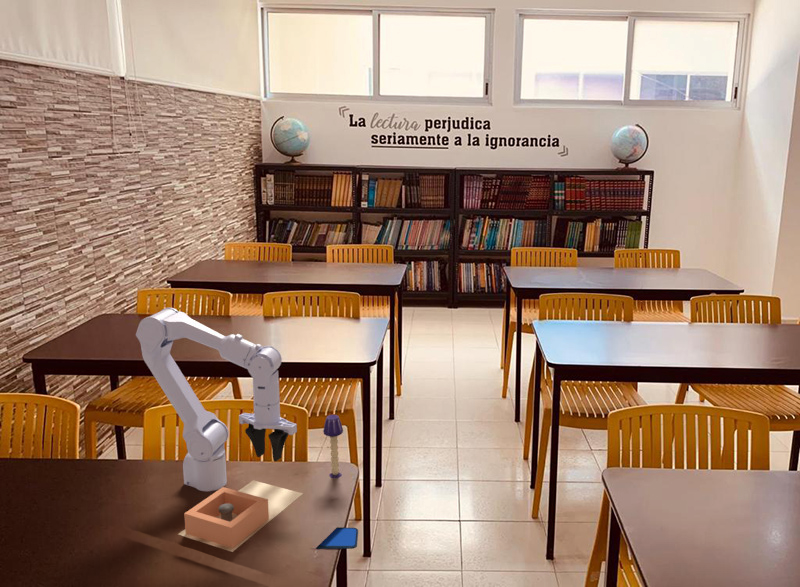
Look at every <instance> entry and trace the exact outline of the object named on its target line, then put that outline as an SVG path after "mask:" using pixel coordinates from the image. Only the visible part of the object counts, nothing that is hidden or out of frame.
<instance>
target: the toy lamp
mask: <svg viewBox="0 0 800 587" xmlns="http://www.w3.org/2000/svg"><path fill="white" fill-rule="evenodd" d="M342 425H343V424H342V421H341V419H340V417H339V415H337V414H330V415H327V416H326V418H325V422H324V427H323V430H322V431H323V432H322V433H323V435H325V436H327V437H329V438H330V440H329V443H330V462H331V464H330V466H331V473H329V476H328V477H329V478H332V479H339V478H340V477H342V475H343V474H342V472H340V471H339V467H340V466H339V457H338V456H339V450H338V449H339V446H338V443H339V442H338V441H339V440H338V436H341V435H342V434H343V433H344V429H343V426H342Z"/></svg>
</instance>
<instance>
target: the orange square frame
mask: <svg viewBox="0 0 800 587" xmlns="http://www.w3.org/2000/svg"><path fill="white" fill-rule="evenodd" d="M227 503H228V504H232V505H233V506H234V510H233V511H232V513H234V514H238V516H237V517H236V518H235V519H233V520H232V521H231V522H229V521H226V520H222V519H219V518H216V517H217V516H219V515H220V514H221V513H220V512H219V506H221V505H222V504H227ZM183 515H184V528H185V531H186V534H189V535H193V536H196V537H199V538H202V539H205V540H208V541H211V542H214V543H218V544H221V545H224V546H227V547H230V548H233V547H235V546H236V545H237V544H238V543H240V542H241V541H242V540H243V539H244V538H246V537H247V536H248V535H249V534H251V533H252V532H253V531H254V530H255V529H257V528H258V527H259V526H260V525H262V524H263V523H264V522H265V521H266V520H268V519H269V511H268V499H265V498H261V497H258V496H254V495H250V494H247V493H243V492H239V490H235V489H232V488H228V487H225V486H224V487H222V488H220V489H218V490H215V492H214V493H212V494H210V495H209V496H208V497H207V498H205V499H203V500H202V501H200V502H199V503H197V504H196V505H194V506H193V507H192V508H190V509H189V510H188V511H185V512H184V514H183Z"/></svg>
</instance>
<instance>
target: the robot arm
mask: <svg viewBox="0 0 800 587" xmlns="http://www.w3.org/2000/svg"><path fill="white" fill-rule="evenodd" d="M137 326H138V327H137V329H136V333H135V337H136V338H137V340H138V341H139V343H140V349H141V355H142V359H143V361H144V363H145V364H146V366H147V367H148V369H149V370H150V372H151V374H152V375H153V377H154V379H155V380H156V381H157V383H158V385H159V387H161V388H160V389H162V391H163V393H164V394H165V396H166V398H167V400H168V401H169V402H170V405H172V408H174V410H175V412H176V414H177V415H178V417H179V418H180V420H181V421H182V423H183V429H182V430H183V431H182V438H183V440H184V441H185V443H186V450H187V453H186V455H185V457H184V459H183V462H182V469H183V470H182V472H183V484H184V485H186V486H190V487H192V488H195V489H196V490H198V491H201V492H213V491H218V490H219V489H221V488H222V487H225V486H226V485H227V483H228V480H227V464H226V463H227V462H226V449H225V443H226V442H227V440H228V439H229V436H230V435H229V429H228V427H227V425H226V424H225V423H224V422H223V421H221V420H220V419H219V418H218V417H217V416H216V414H215V413H213V412H211V411H208V410H206V408H204V406H203V405H202V403H201V401H200V400H199V398H198V396H197V395H196V393H195V392H194V390H193V388H192V386H191V385H190V384H189V382H188V380H187V379H186V377H185V375H184V374H183V373H182V371H181V369H180V367H179V366H178V364H177V363H176V361H175V360H174V357H173V356H172V355H171V350H172V346H173V344H174V341H176V340H180V339H183V338H185V339H188V340H190V341H194V342H196V343H199V344H202V345H204V346H206V347H209V348H211V349H214V350H217V351H218V353H219V355H220V358H222V359H224V360H226V361H228V362H230V363H232V364H235V365H237V366H239V367H242V368H244V369H246V370H247V372H248V373H249V375H250V376H251V378H252V392H253V394H252V395H253V397H252V398H253V413H248V412H243V413H241V414H239V415H238V423H239V424H240V425H244V424H246V425H247V424H248V427H246V429H245V430H244V432H245V434H246V435H247V436H248V438H249V440H250V442H251V444H252V446H253V449H254V451H255V455H256V457H257V458H260V457H262V456H263V455H265V452H266V432H267V430H268V429H269V430H273V431H272V432H270V433H269V434H268V439H269V442H270V445H271V451H272V454H271V455H272V460H273V462H278V461H279V460H280V459H281V458H282V454H283V450H284V447H285V443H286V440H287V438H288V436H289V435H290V436H293V435H295V434H296V433H297V431H298V428H297V426H298V425H297V423H294V422H292V421H290V420H287V419H285V418H283V417H281V407H280V406H281V405H280V404H281V403H280V381H279V370H278V369H279V368H280V366H281V365H282V361H283V360H282V356H281V352H279V350H278V349H277V348H275V347H274V346H272V345H265V346H263V345H262V344H260V343H257V344H255V343H254V342H251V341H249V340H247V339H245V338H243V335H241V334H239V333H237V334H234V333H232V334H229V335H223V334H221V333H219V332H218V331H216V330H214V329H212V328H210V327H208V326H206V325H205V324H203V323H200V322H199V321H197V320H194V319H192V318H191V317H190V316H189V315H188V314H187V313H186V312H183V311H178V310H177V308H174V307H165V308H163V309H161V310H160V311H159V312H155V313H154V314H151V315H150V316H147V317H145V318H142V319H141V320H140V322H139V324H138V325H137Z"/></svg>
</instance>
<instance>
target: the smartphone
mask: <svg viewBox="0 0 800 587" xmlns="http://www.w3.org/2000/svg"><path fill="white" fill-rule="evenodd" d="M358 537H359V529H358V528H356V527H342V526H341V527H339V526H338V527H337V526H336V527H335V529H333V530H332V532H331V533H329V534H328V535H327V536H326V537H325V538H324V539H323V540H322V541H321V542H320V544H318V545H317V546H316V547H315V550H333V549H334V550H342V549H343V550H347V549H349V550H350V549H351V550H352V549H353V550H354V549H355V548H357V547H358V540H359V538H358Z"/></svg>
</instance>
